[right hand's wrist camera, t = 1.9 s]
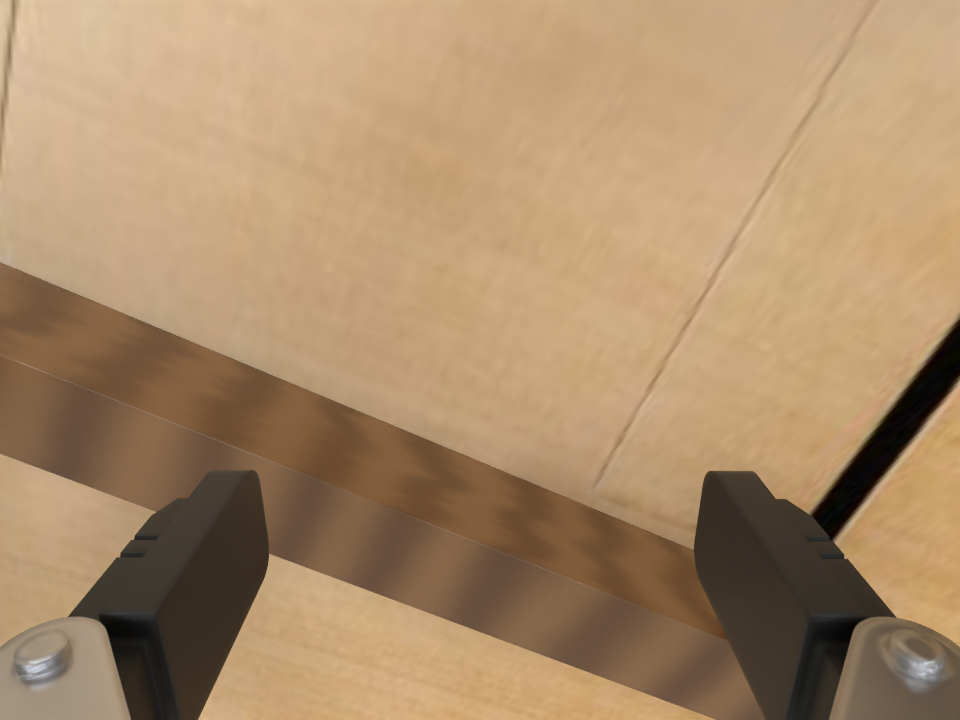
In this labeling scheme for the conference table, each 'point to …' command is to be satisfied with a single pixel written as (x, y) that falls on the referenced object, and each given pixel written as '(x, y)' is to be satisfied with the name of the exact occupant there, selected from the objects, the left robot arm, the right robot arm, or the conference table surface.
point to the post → (358, 497)
